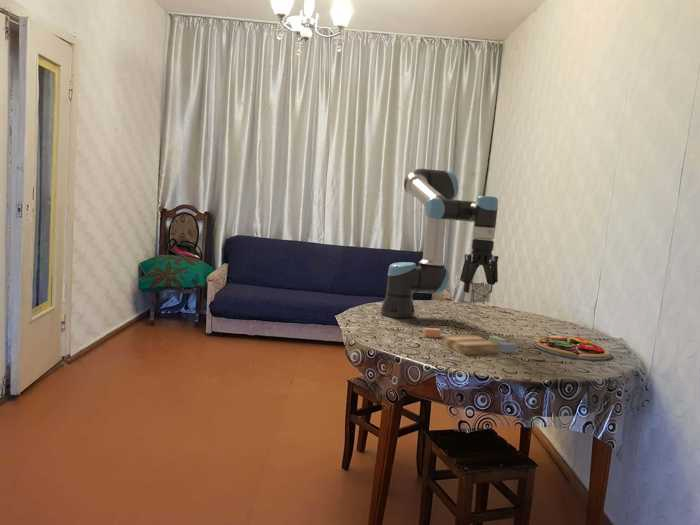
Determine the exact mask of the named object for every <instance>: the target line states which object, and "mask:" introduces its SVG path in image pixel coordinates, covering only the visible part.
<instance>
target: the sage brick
mask: <svg viewBox="0 0 700 525" xmlns="http://www.w3.org/2000/svg"><path fill="white" fill-rule="evenodd" d="M487 341H490V342H492V343H495V344H497V345H498V343H505V342H507V339H506V338H503V337H500V336H497V335H489V336H488V340H487Z"/></svg>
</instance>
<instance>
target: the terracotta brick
mask: <svg viewBox="0 0 700 525" xmlns="http://www.w3.org/2000/svg"><path fill="white" fill-rule="evenodd" d="M422 330H423V331H422V335H423V336H424V337H425V336H427V337H426V338H437V337H440V338H441V336H442V335H441V333H442V329H441V328H438V327H437V328H436V327H423V328H422Z"/></svg>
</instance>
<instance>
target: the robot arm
mask: <svg viewBox="0 0 700 525" xmlns="http://www.w3.org/2000/svg"><path fill="white" fill-rule="evenodd" d="M403 187H404V190H405V191H406V193H407V194H408V195H409V196H411V197H412V198H413V197H414V198H416V199H417V200H418V201H419V202H420V203H421V204H422V205H423V206H425V214H426V222H425V224H426V225H425V232H424V241H423V242H424V243H423V254H422V259H421V260H420V261H418V266H417V264H416V263H415V262H409V261H408V262H406V261H402V262H393V263H391V264H390V265H389V266H388V273H387V282H386V283H387V284H386V294H385V298H384V300H383V302H382V305H381V307H380V313H379V314H380V315H381V316H386V317H389V318H394V319H395V318H396V319H413V318H415V314H416V311H415V305H414V301H413V295H414V293H417V294H418V293H423V294H433V295H434V294H442V293H444V291H445V290H446V289H447V286H448V284H449V280H450V274H449V273H450V272H449V269H448V268H446V263H445V262H444V261H443V256H444V245H445V237H446V236H445V234H446V227H447V220H448V221H449V220H450V221H460V222H461V221H463V222H470V223H473V222H474V225H473V233H472V237H473V240H472V244H471V249H472V252H471V253H469V254H468V253H465V254H464V255H463V256H464V262H463V265H462V266H463V267H462V270H461V274H460V278H459V280H460V282H462V283H464V284H463V286H464V287H463V293H465V294H464V299H463V300H464V302H466V303H467V302H468V303H472V302H471V292H472V284H471V281H472V282H473V278H474V276H475V274H476V272H477V270H478V268H479V267H480V266H482V267H483V271H484V275H485V279H486V283H484V286H485V287H486V288H487V290H488V291H491V293H492V292H493V286H494V285H496V284H497V283H498V281H499V278H498V262H499V261H498V260H499V255H494V254H493V252H492V251H494V244H495V241H494V240H495V233H496V225H497V217H498V209H499V207H498V205H499V199H498V197H495V196H489V195H488V196H486V195H479V196H477V197H476V201H470V200H461V199H460V200H458V199H456V197H457V196H458V193H459V179H458V177H457V175H456V173H454V172H452V171H447V170H439V169H438V170H437V169H428V168H417V169H416V168H415V169H413V170H411V171H410V172H409V173H408V174H407V175H406V176H405V178H404V181H403ZM491 293H490V292H489V294H488V295H487V297H486V299H485V301H484V303H485V302H486V303H490V302H491V301H490V300H491Z"/></svg>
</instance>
